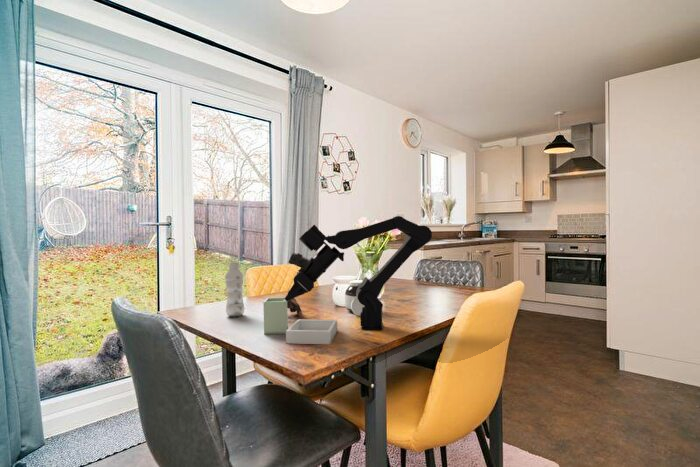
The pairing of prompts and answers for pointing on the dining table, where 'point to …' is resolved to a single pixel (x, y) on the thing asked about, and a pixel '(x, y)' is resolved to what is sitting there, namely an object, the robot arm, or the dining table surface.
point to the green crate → (275, 316)
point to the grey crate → (311, 332)
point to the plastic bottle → (234, 290)
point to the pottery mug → (294, 307)
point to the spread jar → (353, 298)
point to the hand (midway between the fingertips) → (287, 297)
